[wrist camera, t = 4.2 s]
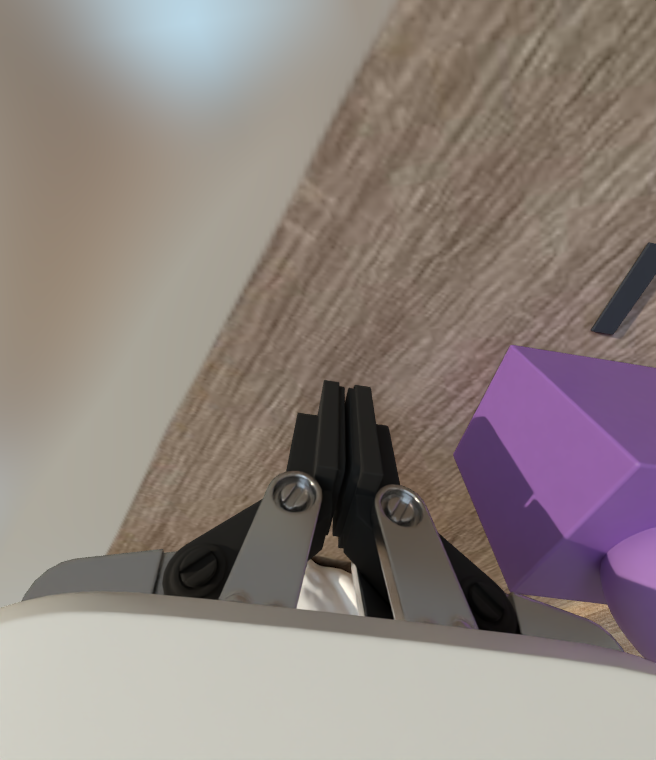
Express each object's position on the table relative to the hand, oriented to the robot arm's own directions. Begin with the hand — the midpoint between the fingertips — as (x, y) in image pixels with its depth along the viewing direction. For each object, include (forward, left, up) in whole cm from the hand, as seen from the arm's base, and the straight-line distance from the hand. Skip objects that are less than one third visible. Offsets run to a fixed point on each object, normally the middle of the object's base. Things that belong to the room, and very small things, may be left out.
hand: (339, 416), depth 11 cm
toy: (0, +9, -2) cm, 9 cm away
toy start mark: (-6, +9, -2) cm, 11 cm away
